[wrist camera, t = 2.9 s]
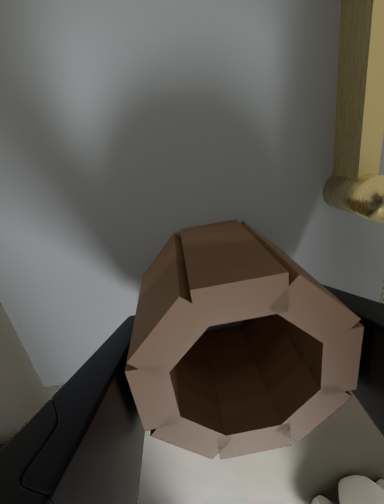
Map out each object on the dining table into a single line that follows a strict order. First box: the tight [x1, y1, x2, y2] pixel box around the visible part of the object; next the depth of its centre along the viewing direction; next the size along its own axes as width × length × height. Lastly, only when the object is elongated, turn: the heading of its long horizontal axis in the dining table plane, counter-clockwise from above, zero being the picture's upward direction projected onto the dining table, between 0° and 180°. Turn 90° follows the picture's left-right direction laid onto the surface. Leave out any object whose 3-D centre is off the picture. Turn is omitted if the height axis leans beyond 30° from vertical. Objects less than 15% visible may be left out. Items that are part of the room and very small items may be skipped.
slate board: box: [0, 0, 384, 388], centre depth 8 cm, size 16×14×1 cm
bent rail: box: [323, 0, 384, 223], centre depth 6 cm, size 8×6×2 cm
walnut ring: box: [125, 219, 364, 460], centre depth 8 cm, size 5×5×4 cm
